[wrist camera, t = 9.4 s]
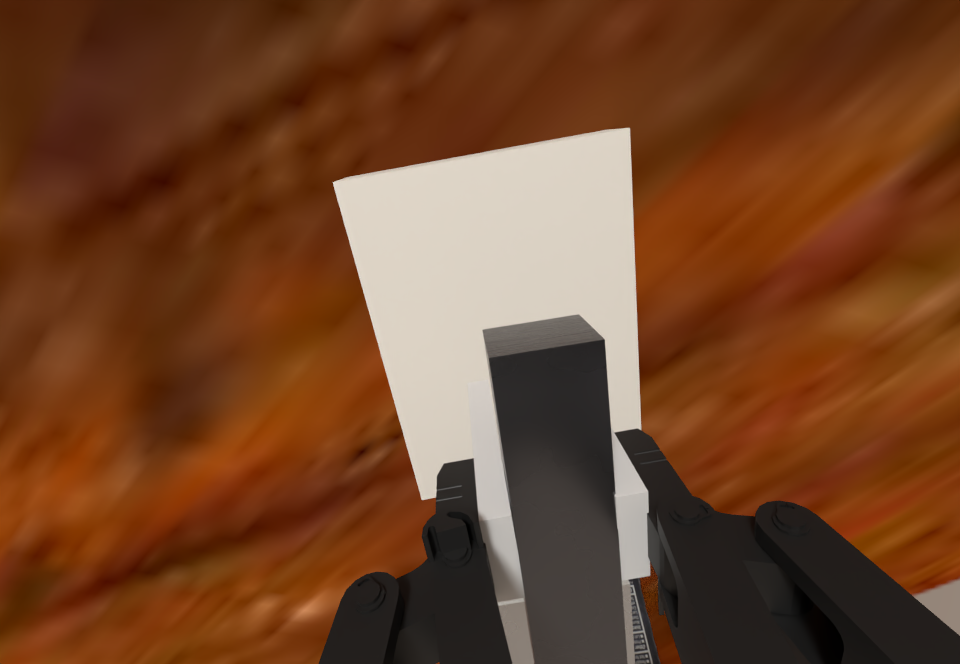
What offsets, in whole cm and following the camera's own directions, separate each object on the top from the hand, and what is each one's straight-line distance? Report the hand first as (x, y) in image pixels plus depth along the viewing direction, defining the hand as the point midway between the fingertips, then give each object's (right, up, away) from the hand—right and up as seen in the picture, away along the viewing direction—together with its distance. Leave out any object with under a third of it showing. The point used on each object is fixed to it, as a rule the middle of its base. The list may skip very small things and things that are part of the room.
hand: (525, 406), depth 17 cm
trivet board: (0, +3, +7) cm, 8 cm away
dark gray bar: (+1, -7, +2) cm, 7 cm away
